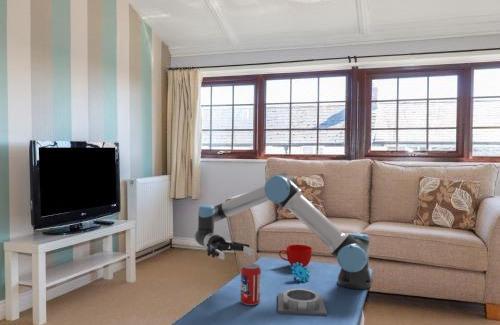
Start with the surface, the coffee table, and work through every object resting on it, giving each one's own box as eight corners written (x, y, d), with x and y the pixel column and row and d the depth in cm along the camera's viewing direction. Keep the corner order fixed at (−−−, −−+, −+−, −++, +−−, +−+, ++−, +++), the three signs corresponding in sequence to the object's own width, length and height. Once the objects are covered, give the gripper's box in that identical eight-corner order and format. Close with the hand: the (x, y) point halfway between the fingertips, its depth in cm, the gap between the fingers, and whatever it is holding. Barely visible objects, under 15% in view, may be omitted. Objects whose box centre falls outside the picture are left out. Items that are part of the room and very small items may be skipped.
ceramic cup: (276, 263, 220) (277, 244, 220) (308, 263, 222) (308, 244, 221) (281, 271, 207) (281, 251, 207) (314, 270, 209) (315, 250, 209)
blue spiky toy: (296, 281, 188) (289, 261, 194) (290, 287, 191) (282, 268, 198) (315, 280, 194) (307, 261, 200) (308, 286, 197) (301, 267, 203)
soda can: (261, 306, 163) (262, 268, 162) (241, 307, 161) (242, 268, 161) (258, 298, 170) (259, 262, 170) (239, 299, 169) (239, 262, 168)
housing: (321, 297, 173) (321, 288, 173) (326, 315, 155) (327, 305, 155) (277, 295, 174) (278, 286, 174) (278, 313, 156) (278, 302, 156)
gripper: (238, 248, 198) (262, 259, 180) (189, 254, 185) (210, 267, 167) (238, 232, 198) (263, 242, 180) (189, 237, 185) (211, 248, 167)
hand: (238, 254), depth 173 cm, fingers open, 13 cm apart
